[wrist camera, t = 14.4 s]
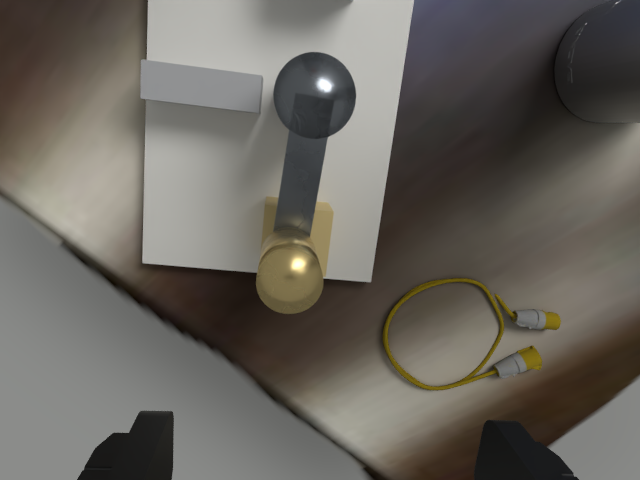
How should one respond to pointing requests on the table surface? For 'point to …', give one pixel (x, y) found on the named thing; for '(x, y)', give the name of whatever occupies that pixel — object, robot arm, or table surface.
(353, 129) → the base
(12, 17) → the table surface
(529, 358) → the extension cord
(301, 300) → the bar
